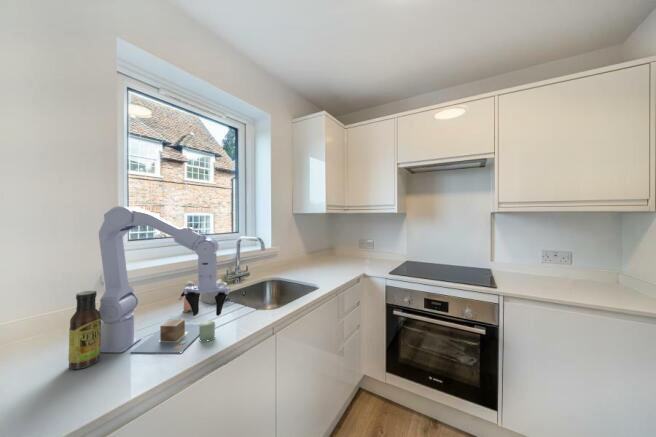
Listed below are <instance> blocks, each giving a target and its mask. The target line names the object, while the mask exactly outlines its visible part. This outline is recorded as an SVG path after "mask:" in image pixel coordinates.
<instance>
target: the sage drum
mask: <svg viewBox="0 0 656 437" xmlns="http://www.w3.org/2000/svg"><path fill="white" fill-rule="evenodd" d="M199 324H200V325H199V336H198V337H199V339H200V340H201V341H207V340H211V339H212V340H214V339H215V337H214V336H216V334H215V333H216V332H215V330H216V329H215V328H216V327H215V325H216V323H215V321H213V320H205V321H202V322H200V323H199ZM213 338H214V339H213ZM199 339H198V340H199ZM200 340H199V341H200ZM212 340H211V341H212ZM201 341H200V342H201ZM207 342H208V341H207Z"/></svg>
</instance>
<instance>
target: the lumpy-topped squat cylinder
mask: <svg viewBox="0 0 656 437" xmlns="http://www.w3.org/2000/svg"><path fill="white" fill-rule="evenodd" d="M217 286H224V287H228V283H227V282H225V281H224V280H223V279H221V278H219V279H217ZM216 295H218V294H215V293H200V297H199V302H200V301H201V302H202V303H205V304H216V300H215V296H216ZM227 299H228V296H227V297H226V299H225V301H226V300H227Z"/></svg>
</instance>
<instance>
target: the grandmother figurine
mask: <svg viewBox="0 0 656 437" xmlns="http://www.w3.org/2000/svg"><path fill="white" fill-rule="evenodd" d="M184 285H185V288H186V287H190V286H195V283H194V282H193V281H191V280H188V281H186V282H185V284H184ZM186 296H187V294H184V291H182V293H181V295H180V296H179V299H178V301H182V300H183V310H182V313H187V312H192V309H191V306H190V304H189V303H188V301H187V300H186ZM183 298H184V299H183Z"/></svg>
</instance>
